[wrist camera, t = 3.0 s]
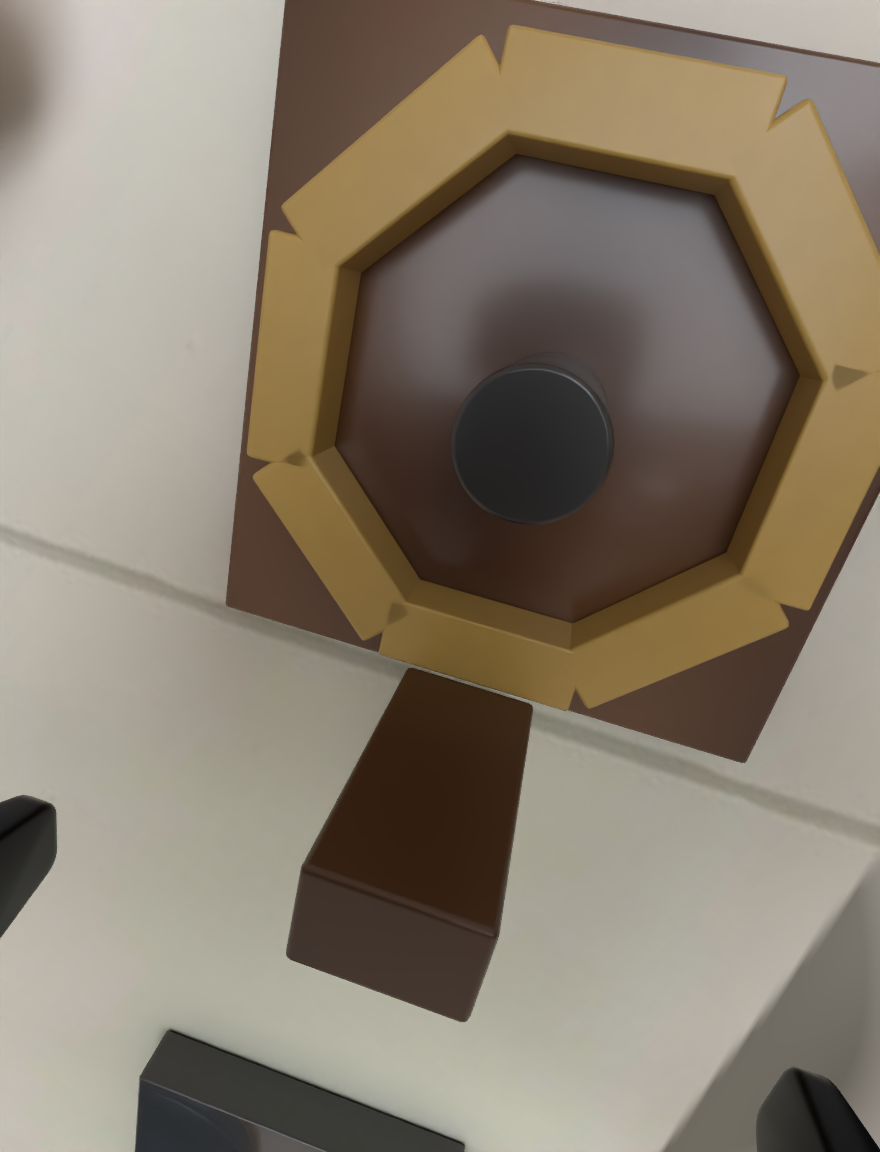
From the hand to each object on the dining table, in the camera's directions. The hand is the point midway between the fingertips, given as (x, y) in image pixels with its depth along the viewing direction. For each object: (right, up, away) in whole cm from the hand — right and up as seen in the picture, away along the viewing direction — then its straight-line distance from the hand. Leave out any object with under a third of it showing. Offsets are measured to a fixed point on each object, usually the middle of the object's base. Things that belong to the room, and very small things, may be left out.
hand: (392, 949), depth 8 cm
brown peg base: (+3, +8, +4) cm, 9 cm away
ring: (+2, +7, +3) cm, 8 cm away
